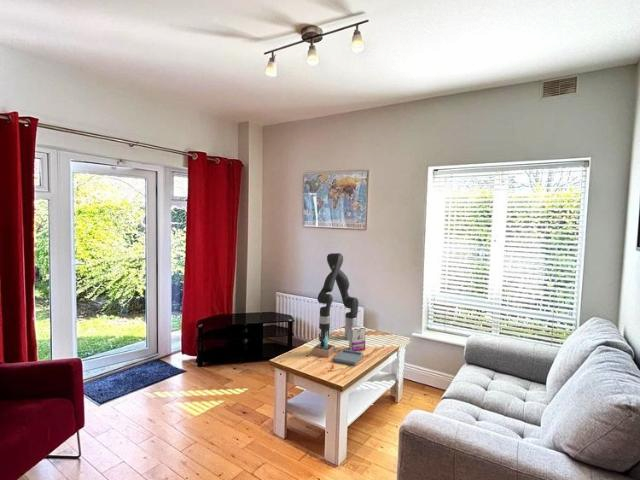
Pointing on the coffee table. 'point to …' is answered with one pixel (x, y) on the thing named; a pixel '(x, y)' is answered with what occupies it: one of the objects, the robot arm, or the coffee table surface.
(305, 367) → the coffee table surface
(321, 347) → the teal peg
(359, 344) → the candy bar box
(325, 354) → the tan square open box
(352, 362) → the tray
